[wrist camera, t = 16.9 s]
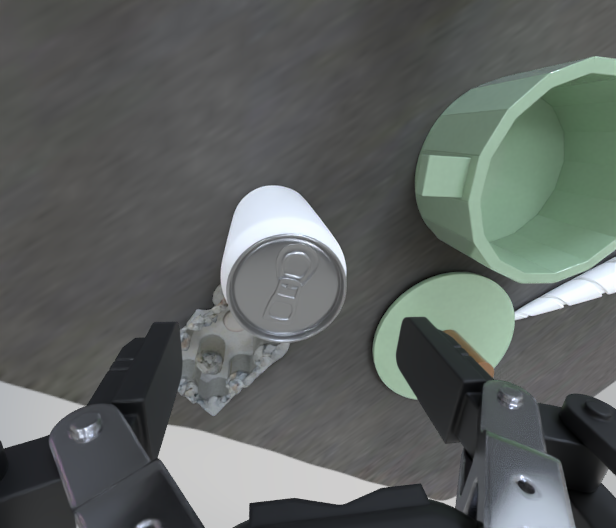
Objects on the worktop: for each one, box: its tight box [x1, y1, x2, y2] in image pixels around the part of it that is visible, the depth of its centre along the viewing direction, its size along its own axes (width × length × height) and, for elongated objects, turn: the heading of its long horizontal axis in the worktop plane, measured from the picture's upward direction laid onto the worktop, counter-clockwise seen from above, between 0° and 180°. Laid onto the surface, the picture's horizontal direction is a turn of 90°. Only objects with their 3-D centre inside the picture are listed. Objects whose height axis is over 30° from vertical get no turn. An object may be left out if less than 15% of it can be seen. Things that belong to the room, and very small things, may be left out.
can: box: [221, 185, 347, 343], centre depth 21 cm, size 6×6×12 cm
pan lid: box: [372, 272, 515, 400], centre depth 30 cm, size 15×15×6 cm
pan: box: [415, 56, 616, 283], centre depth 24 cm, size 14×19×8 cm
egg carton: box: [178, 284, 290, 416], centre depth 27 cm, size 11×8×4 cm
